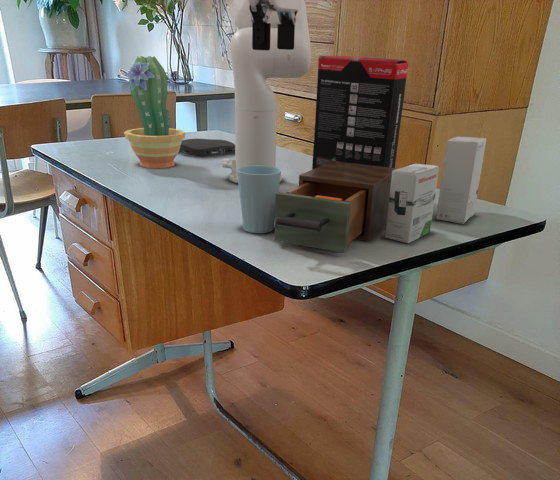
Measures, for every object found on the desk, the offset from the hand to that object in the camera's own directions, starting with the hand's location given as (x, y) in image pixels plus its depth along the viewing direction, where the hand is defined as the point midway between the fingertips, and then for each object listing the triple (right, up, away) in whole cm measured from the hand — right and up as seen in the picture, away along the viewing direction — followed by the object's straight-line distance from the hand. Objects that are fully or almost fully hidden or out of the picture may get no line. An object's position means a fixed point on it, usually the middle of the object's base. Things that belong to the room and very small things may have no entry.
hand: (273, 49), depth 105 cm
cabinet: (+14, -29, +7) cm, 33 cm away
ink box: (+24, -33, +2) cm, 41 cm away
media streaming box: (-21, +6, +66) cm, 70 cm away
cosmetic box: (+36, -27, +13) cm, 47 cm away
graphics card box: (+16, -20, +24) cm, 35 cm away
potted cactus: (-31, -3, +49) cm, 58 cm away
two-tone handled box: (+8, -35, -5) cm, 36 cm away
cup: (-3, -31, +3) cm, 32 cm away
